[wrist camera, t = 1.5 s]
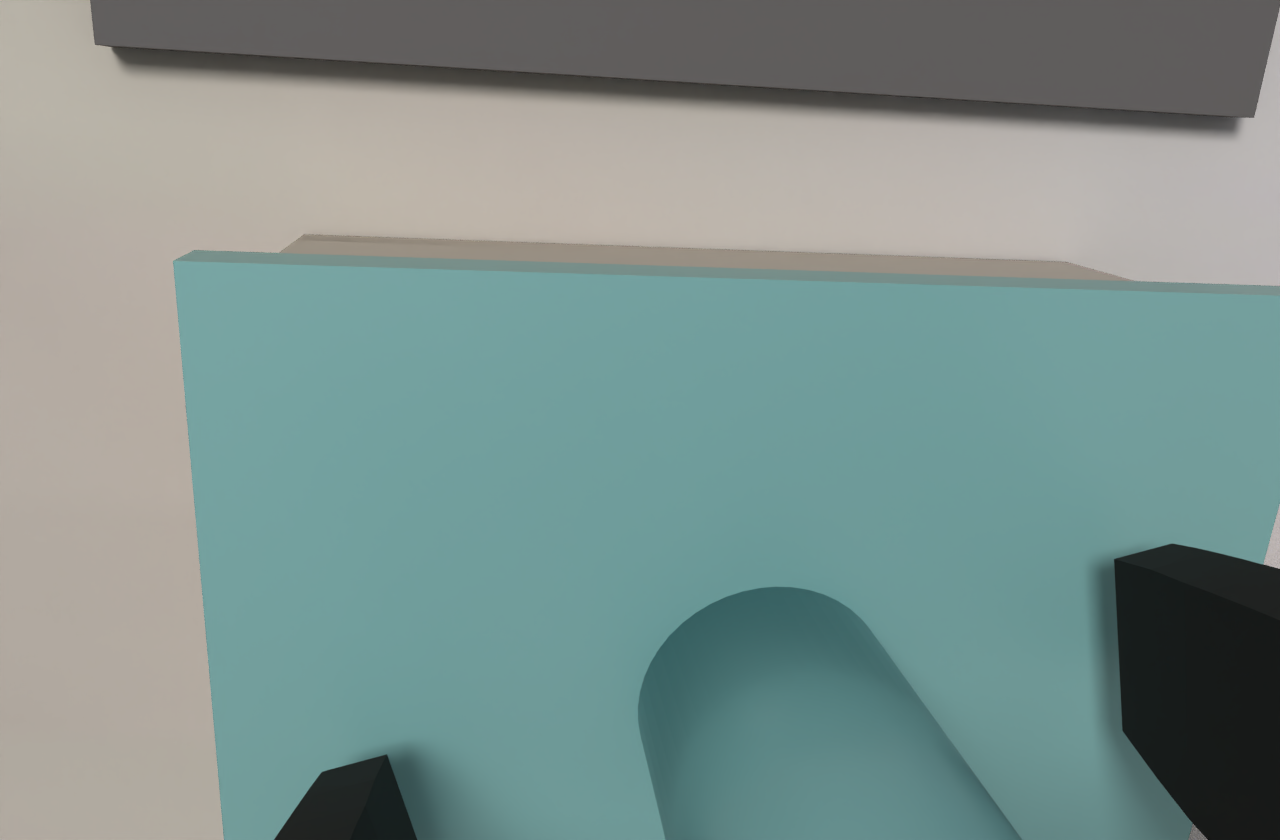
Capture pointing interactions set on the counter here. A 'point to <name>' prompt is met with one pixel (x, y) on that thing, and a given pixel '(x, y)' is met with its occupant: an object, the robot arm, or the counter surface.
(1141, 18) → the mat
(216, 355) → the lid
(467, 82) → the counter surface
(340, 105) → the counter surface
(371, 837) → the robot arm
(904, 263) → the tub
